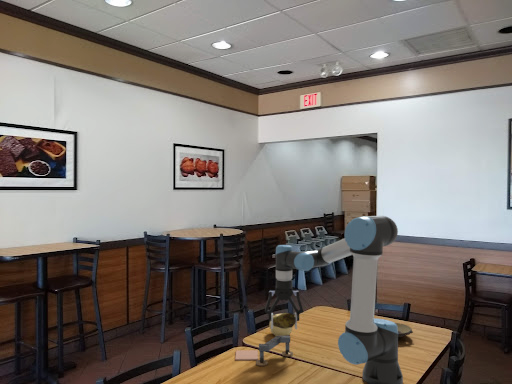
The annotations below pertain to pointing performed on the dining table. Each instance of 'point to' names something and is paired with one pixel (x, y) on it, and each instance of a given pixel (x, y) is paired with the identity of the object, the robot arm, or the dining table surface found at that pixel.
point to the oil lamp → (403, 330)
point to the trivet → (246, 355)
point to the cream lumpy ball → (280, 329)
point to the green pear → (284, 320)
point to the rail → (272, 344)
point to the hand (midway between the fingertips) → (283, 328)
